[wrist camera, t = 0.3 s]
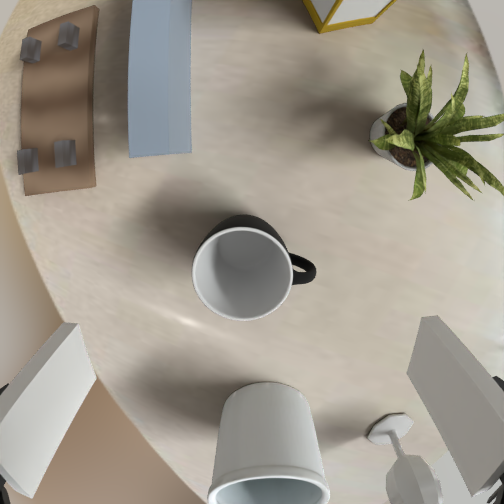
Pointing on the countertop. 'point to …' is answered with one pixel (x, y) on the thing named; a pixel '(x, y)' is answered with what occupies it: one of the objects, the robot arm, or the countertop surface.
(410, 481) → the wineglass
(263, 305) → the mug
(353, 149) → the countertop surface
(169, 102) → the door panel
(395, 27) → the countertop surface
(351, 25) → the soap bottle
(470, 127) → the house plant
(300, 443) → the utensil holder
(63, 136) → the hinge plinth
